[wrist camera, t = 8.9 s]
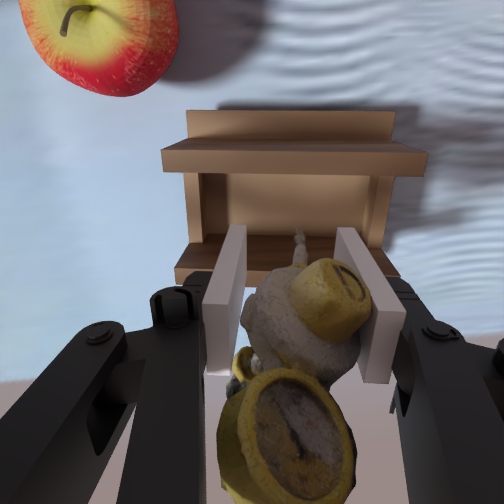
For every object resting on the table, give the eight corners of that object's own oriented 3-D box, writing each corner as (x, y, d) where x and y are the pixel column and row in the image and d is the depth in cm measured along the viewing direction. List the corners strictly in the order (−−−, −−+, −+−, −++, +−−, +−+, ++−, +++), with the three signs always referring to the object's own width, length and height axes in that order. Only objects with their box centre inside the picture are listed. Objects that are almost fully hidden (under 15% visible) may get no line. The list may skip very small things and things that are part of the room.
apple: (104, 108, 25) (9, 112, 16) (56, -27, 22) (-99, -118, 13) (206, 84, 24) (164, 74, 15) (172, -62, 21) (91, -191, 11)
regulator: (301, 167, 18) (281, 385, 5) (358, 206, 18) (487, 503, 5) (235, 263, 21) (115, 545, 8) (284, 293, 22) (247, 607, 9)
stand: (195, 109, 25) (156, 113, 17) (382, 110, 24) (437, 115, 16) (204, 251, 30) (178, 307, 22) (358, 255, 29) (391, 316, 21)
